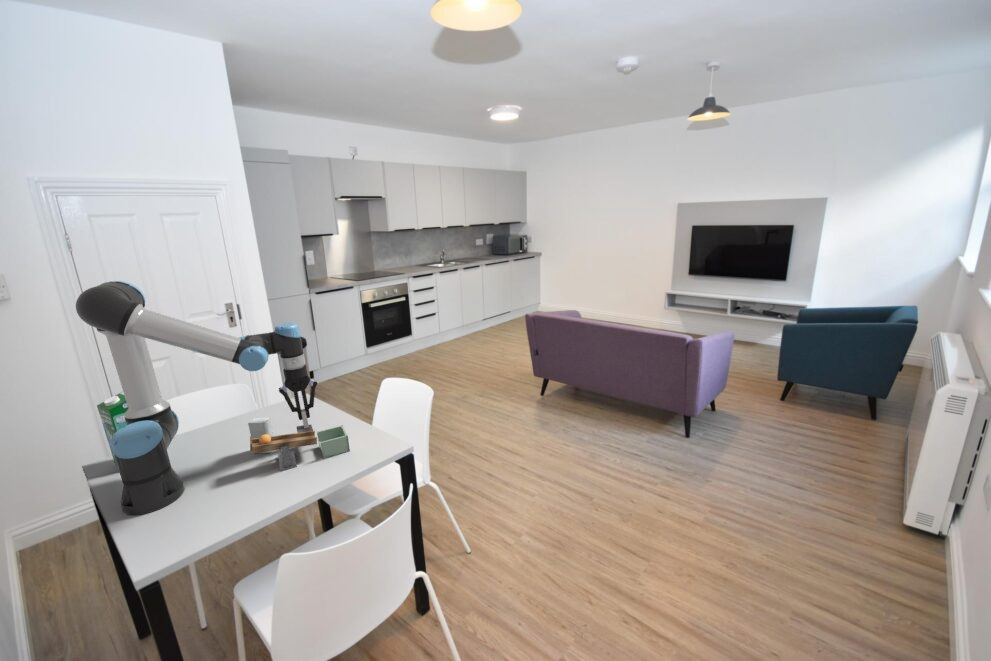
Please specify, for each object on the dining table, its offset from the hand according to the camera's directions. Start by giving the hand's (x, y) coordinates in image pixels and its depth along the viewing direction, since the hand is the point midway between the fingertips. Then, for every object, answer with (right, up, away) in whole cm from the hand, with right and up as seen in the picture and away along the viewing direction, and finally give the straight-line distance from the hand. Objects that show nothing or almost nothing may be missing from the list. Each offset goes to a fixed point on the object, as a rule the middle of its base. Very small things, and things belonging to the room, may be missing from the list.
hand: (306, 426), depth 159 cm
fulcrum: (-2, -10, -10) cm, 14 cm away
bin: (+12, -7, -3) cm, 14 cm away
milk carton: (-58, -11, -6) cm, 59 cm away
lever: (-4, -3, -8) cm, 10 cm away
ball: (-7, -1, -16) cm, 17 cm away
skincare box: (-14, -8, -2) cm, 16 cm away
